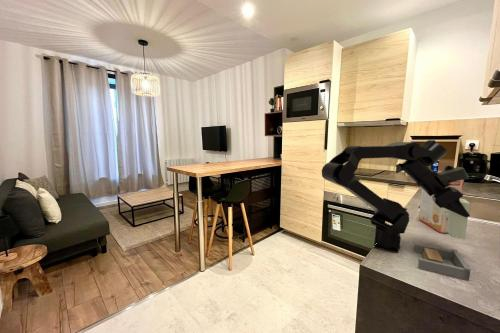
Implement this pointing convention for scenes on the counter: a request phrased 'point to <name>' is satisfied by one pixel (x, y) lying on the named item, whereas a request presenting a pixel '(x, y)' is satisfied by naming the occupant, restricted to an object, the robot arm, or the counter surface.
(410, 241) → the counter surface
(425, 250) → the walnut offcuts
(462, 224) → the sage board
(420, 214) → the cracker box
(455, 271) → the frame
